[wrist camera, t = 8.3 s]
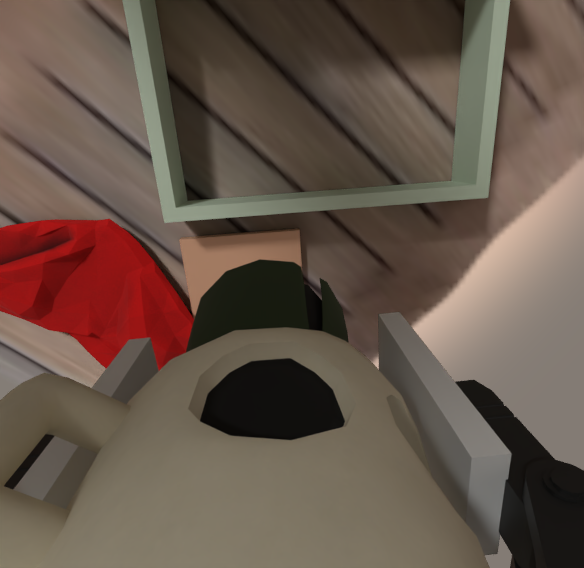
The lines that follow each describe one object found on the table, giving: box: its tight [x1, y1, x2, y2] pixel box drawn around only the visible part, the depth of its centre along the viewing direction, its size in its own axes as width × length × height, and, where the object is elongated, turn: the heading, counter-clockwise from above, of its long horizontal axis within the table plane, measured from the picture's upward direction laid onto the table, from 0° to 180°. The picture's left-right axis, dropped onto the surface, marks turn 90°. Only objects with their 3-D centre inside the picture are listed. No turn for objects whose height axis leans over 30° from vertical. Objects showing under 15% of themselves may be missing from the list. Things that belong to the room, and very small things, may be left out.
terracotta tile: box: [180, 228, 302, 319], centre depth 33 cm, size 10×12×1 cm
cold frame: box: [123, 0, 510, 223], centre depth 25 cm, size 24×17×7 cm
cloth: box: [0, 219, 194, 371], centre depth 31 cm, size 26×14×2 cm, turn 53°
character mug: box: [0, 259, 489, 568], centre depth 10 cm, size 11×7×13 cm, turn 57°
